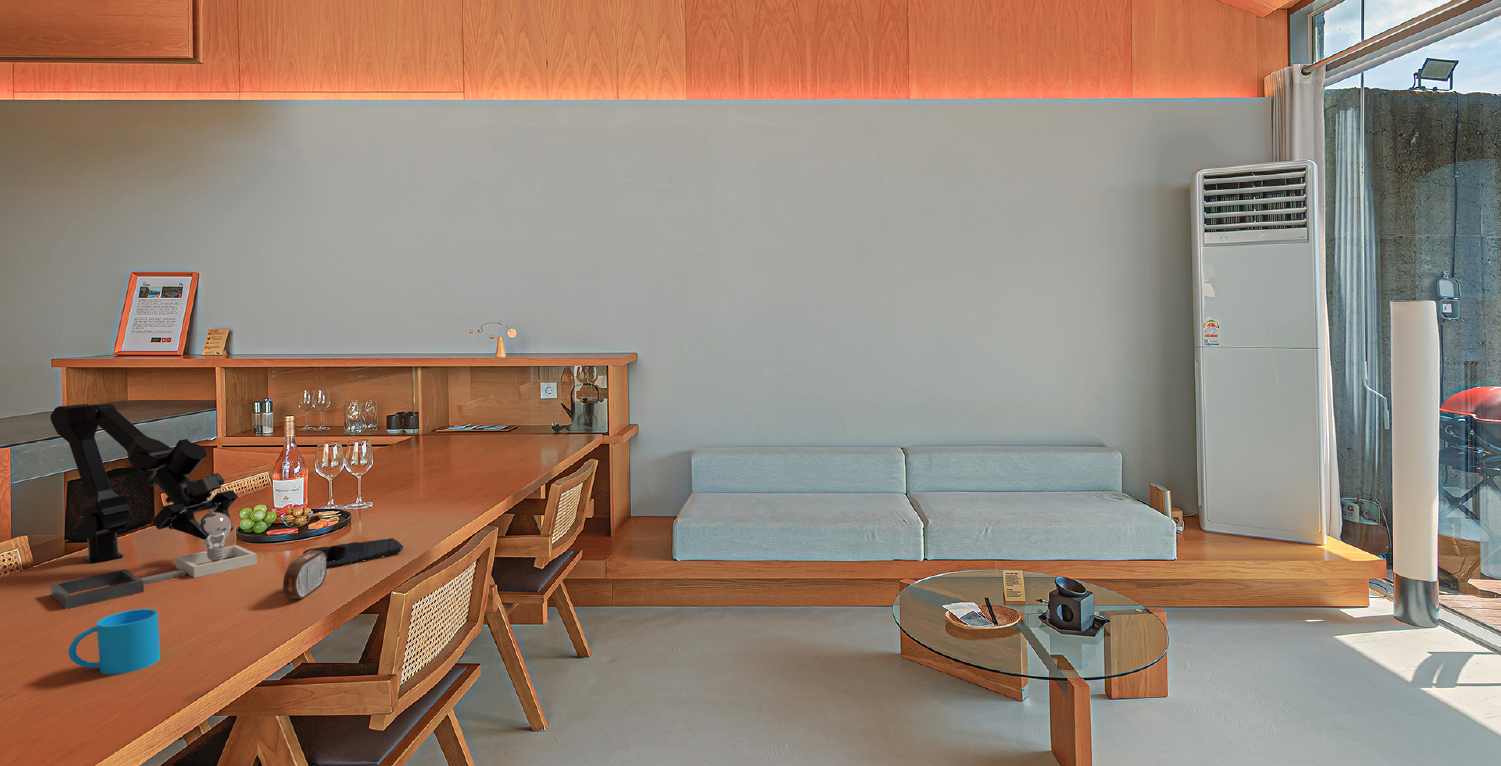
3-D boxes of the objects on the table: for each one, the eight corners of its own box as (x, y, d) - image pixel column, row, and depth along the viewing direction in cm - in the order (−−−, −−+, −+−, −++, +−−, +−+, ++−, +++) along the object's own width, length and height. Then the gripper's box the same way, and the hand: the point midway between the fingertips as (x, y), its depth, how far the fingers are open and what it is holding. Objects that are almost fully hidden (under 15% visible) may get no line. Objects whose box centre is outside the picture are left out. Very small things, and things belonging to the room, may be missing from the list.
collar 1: (51, 595, 168) (50, 584, 168) (126, 579, 179) (125, 569, 178) (66, 608, 160) (65, 596, 160) (143, 591, 171) (143, 580, 170)
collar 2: (175, 567, 188) (175, 557, 188) (237, 554, 198) (236, 544, 198) (194, 577, 180) (193, 567, 180) (257, 564, 190) (256, 554, 190)
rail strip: (134, 582, 177) (134, 579, 177) (181, 572, 184) (181, 569, 184) (138, 585, 175) (138, 581, 175) (186, 575, 182) (185, 571, 182)
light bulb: (231, 562, 187) (229, 513, 187) (196, 567, 184) (193, 516, 183) (234, 555, 193) (232, 507, 193) (199, 559, 190) (197, 510, 189)
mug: (161, 650, 140) (158, 605, 139) (159, 666, 133) (156, 619, 133) (73, 667, 133) (70, 620, 132) (66, 685, 126) (62, 635, 126)
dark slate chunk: (408, 557, 196) (407, 539, 196) (308, 574, 183) (307, 554, 183) (395, 543, 209) (395, 526, 208) (301, 558, 196) (300, 540, 196)
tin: (316, 581, 177) (314, 545, 176) (330, 581, 177) (329, 544, 176) (282, 605, 162) (280, 565, 161) (298, 605, 162) (296, 565, 161)
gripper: (160, 472, 179) (203, 522, 177) (229, 458, 197) (269, 503, 196) (134, 504, 181) (176, 554, 179) (204, 487, 199) (243, 532, 198)
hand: (219, 534), depth 188 cm, fingers closed on light bulb, 7 cm apart
